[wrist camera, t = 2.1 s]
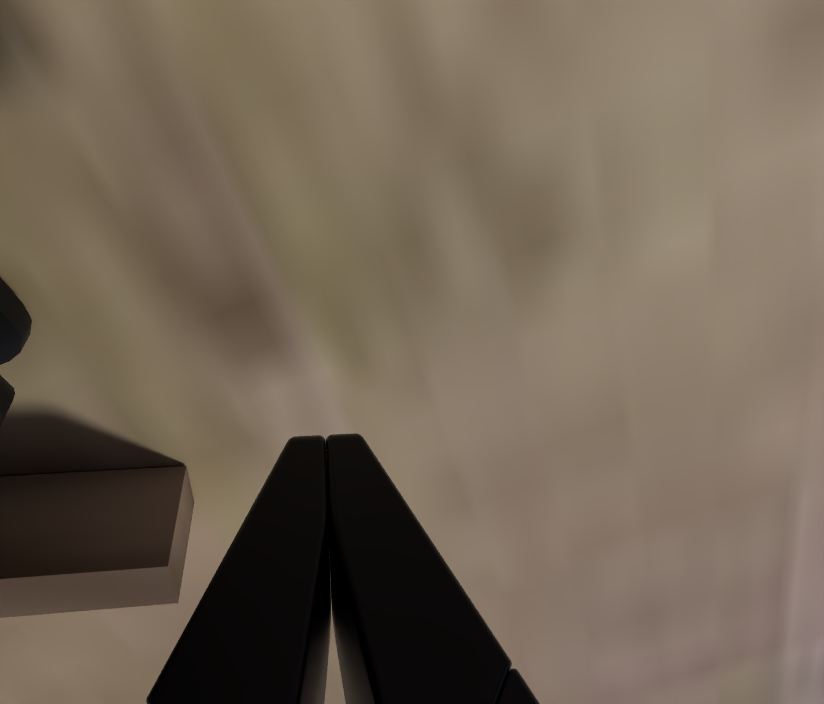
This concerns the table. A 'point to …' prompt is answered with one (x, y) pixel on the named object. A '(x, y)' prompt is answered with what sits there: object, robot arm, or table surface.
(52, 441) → the table surface
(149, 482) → the rail
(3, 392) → the end cap
